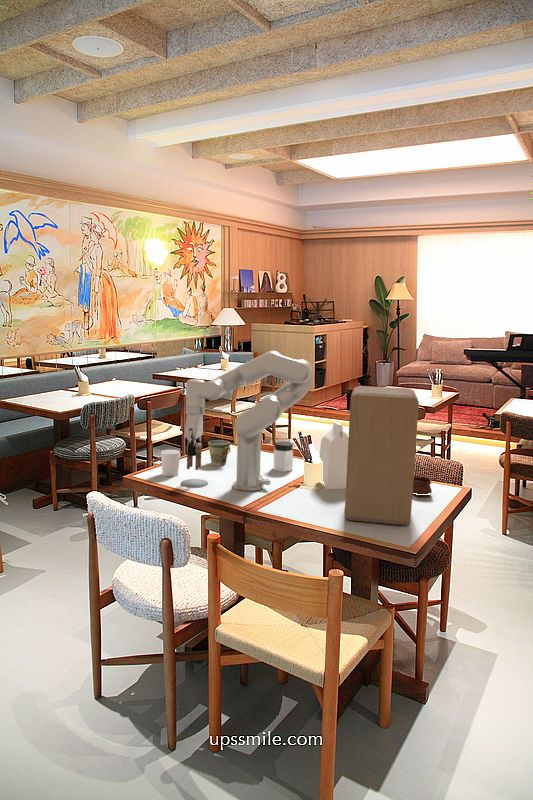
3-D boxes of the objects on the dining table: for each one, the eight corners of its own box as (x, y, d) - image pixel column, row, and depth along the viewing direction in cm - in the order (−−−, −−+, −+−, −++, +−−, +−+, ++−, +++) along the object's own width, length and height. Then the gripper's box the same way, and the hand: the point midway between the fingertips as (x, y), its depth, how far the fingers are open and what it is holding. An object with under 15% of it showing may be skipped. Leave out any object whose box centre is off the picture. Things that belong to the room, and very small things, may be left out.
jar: (272, 466, 282) (272, 441, 280) (289, 466, 284) (290, 441, 282) (275, 472, 274) (276, 445, 272) (293, 471, 275) (294, 445, 273)
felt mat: (211, 481, 257) (211, 480, 257) (203, 488, 246) (203, 487, 246) (185, 478, 259) (185, 477, 259) (177, 486, 248) (177, 485, 248)
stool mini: (189, 465, 255) (189, 441, 254) (203, 466, 254) (203, 443, 252) (184, 469, 249) (184, 445, 248) (198, 470, 248) (199, 446, 247)
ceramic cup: (203, 462, 286) (203, 441, 284) (220, 459, 292) (220, 439, 291) (221, 468, 276) (221, 447, 275) (238, 465, 283) (238, 444, 281)
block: (410, 528, 209) (419, 396, 202) (343, 522, 213) (350, 393, 206) (407, 507, 231) (415, 388, 224) (347, 502, 235) (353, 384, 228)
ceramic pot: (433, 505, 235) (434, 487, 234) (390, 496, 245) (391, 479, 244) (449, 495, 250) (450, 478, 249) (407, 487, 260) (408, 470, 259)
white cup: (181, 472, 268) (181, 450, 267) (177, 477, 261) (177, 454, 259) (163, 471, 269) (163, 449, 268) (158, 476, 261) (159, 453, 260)
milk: (317, 481, 262) (319, 420, 258) (342, 479, 265) (345, 420, 261) (326, 489, 250) (329, 426, 246) (353, 488, 253) (356, 425, 249)
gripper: (193, 406, 257) (191, 448, 260) (179, 412, 240) (178, 457, 243) (210, 407, 256) (209, 449, 258) (197, 414, 239) (196, 459, 242)
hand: (194, 453), depth 251 cm, fingers closed on stool mini, 6 cm apart
